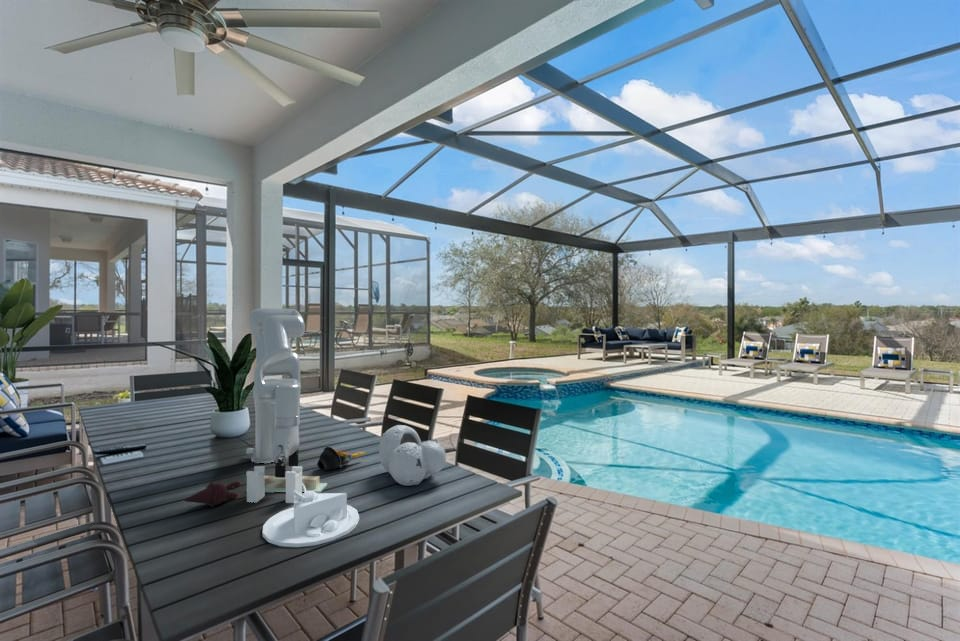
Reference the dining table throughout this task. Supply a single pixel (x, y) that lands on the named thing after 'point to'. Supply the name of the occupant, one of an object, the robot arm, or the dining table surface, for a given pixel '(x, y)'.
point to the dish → (311, 520)
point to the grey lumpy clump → (409, 455)
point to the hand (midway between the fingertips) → (287, 471)
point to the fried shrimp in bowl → (335, 459)
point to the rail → (278, 482)
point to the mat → (317, 490)
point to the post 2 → (293, 483)
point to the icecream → (214, 494)
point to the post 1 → (255, 484)
